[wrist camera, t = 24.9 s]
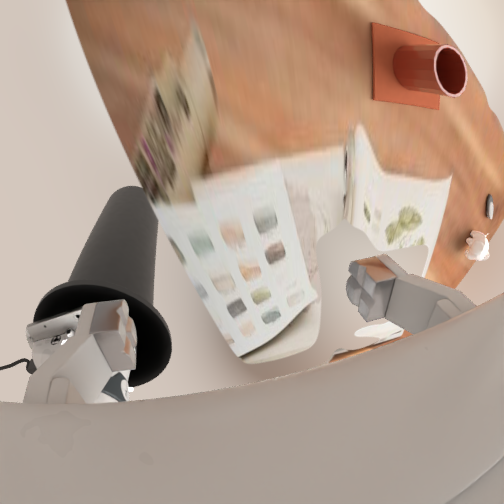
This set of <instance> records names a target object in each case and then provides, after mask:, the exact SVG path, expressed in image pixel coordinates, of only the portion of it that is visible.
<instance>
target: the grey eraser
mask: <svg viewBox="0 0 504 504" xmlns="http://www.w3.org/2000/svg"><path fill="white" fill-rule="evenodd" d="M492 216H493V199H492V196H491V195H489V196H488V200H487V217H488V218H489V219H492Z"/></svg>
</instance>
